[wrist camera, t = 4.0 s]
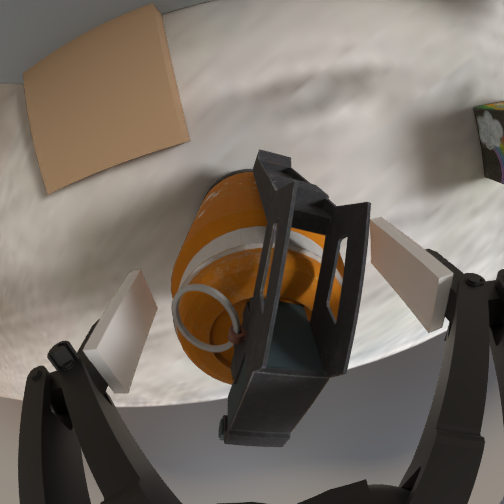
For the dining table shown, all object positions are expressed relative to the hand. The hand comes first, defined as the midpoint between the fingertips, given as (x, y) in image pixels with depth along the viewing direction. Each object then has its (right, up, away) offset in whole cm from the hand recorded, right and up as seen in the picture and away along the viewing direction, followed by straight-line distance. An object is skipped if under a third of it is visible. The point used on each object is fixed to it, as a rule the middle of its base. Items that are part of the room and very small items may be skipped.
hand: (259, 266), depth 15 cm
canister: (0, +5, +10) cm, 11 cm away
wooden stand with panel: (-12, +18, +3) cm, 22 cm away
